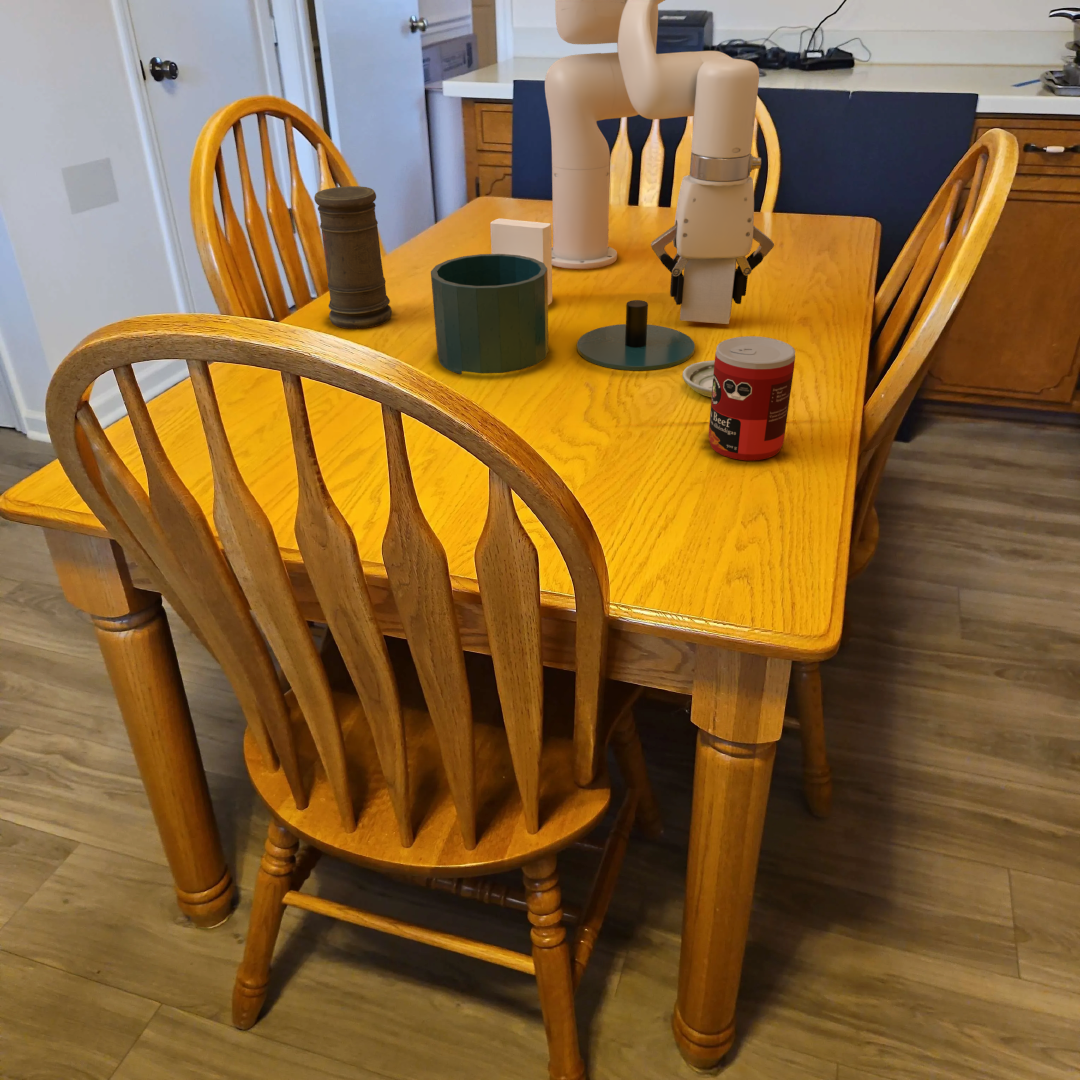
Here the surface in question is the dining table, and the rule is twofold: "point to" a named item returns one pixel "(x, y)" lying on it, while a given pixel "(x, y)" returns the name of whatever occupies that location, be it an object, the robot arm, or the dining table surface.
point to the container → (353, 257)
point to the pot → (490, 313)
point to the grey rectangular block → (708, 290)
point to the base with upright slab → (524, 242)
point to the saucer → (700, 377)
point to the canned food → (750, 397)
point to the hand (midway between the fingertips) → (707, 300)
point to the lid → (636, 343)
